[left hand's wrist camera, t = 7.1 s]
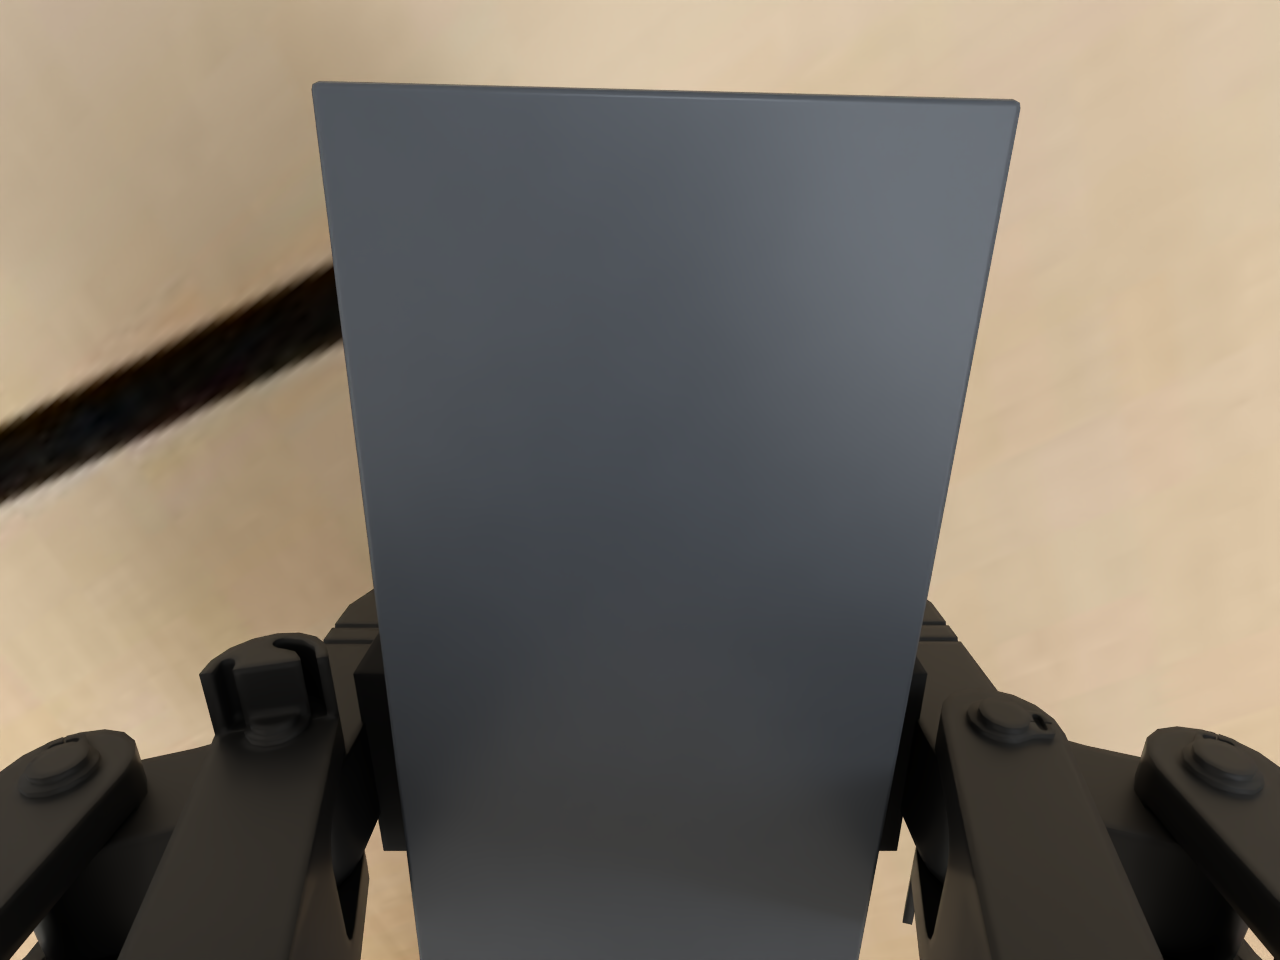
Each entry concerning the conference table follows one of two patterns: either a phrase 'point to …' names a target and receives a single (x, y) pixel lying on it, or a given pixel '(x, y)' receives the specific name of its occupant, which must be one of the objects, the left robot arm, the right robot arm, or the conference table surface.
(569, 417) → the post
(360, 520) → the conference table surface
